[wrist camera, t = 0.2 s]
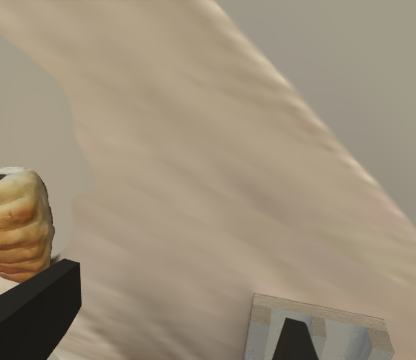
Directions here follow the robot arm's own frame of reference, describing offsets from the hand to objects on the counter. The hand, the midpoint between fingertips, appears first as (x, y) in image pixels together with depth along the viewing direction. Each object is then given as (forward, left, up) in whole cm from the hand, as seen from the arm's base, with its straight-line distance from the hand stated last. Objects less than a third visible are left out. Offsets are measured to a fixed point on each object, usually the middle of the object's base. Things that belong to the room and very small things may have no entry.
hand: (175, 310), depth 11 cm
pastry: (-5, +15, -10) cm, 19 cm away
